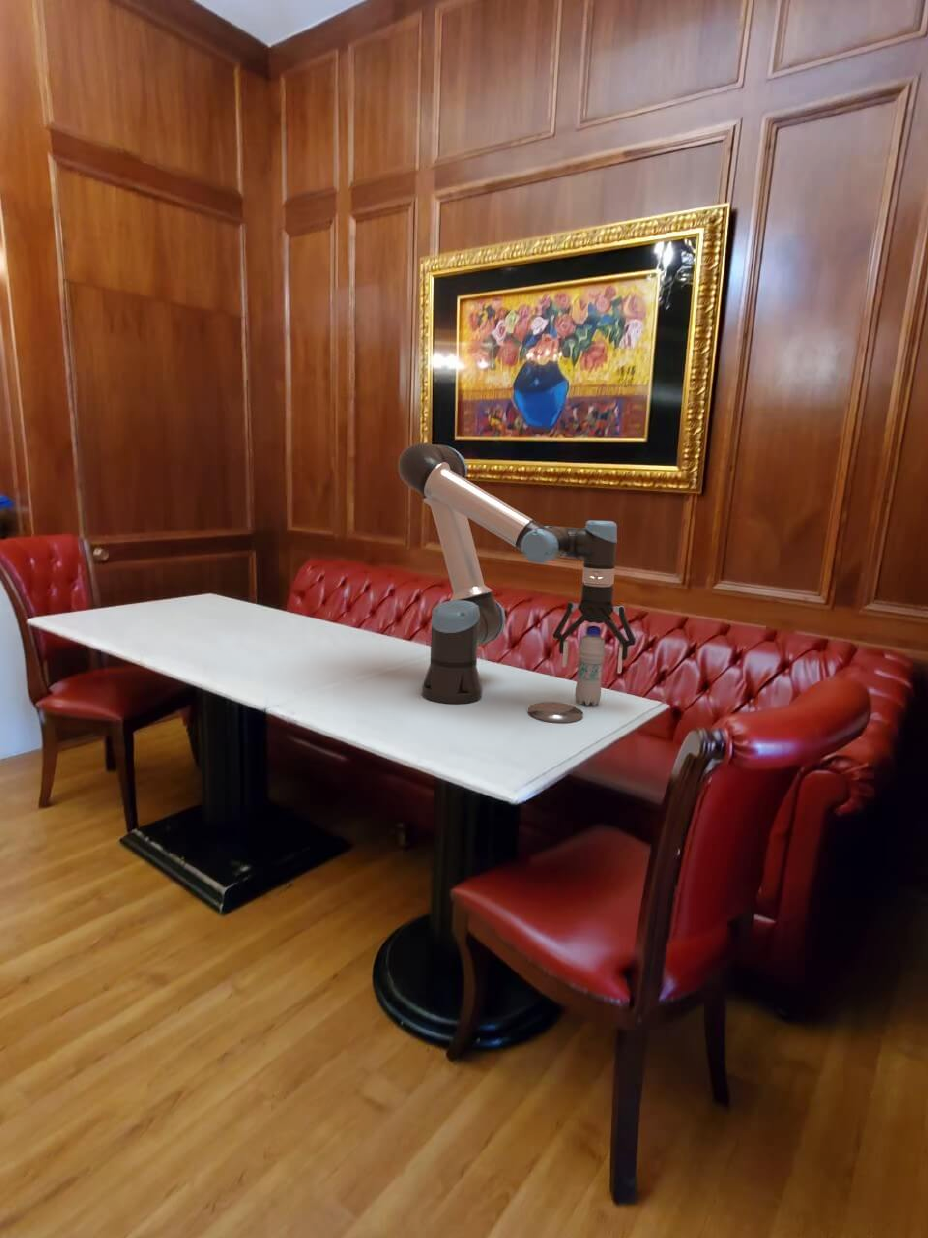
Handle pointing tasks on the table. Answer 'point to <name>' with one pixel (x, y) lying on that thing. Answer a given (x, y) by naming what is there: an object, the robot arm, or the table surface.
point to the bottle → (590, 667)
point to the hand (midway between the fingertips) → (591, 669)
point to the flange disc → (555, 712)
